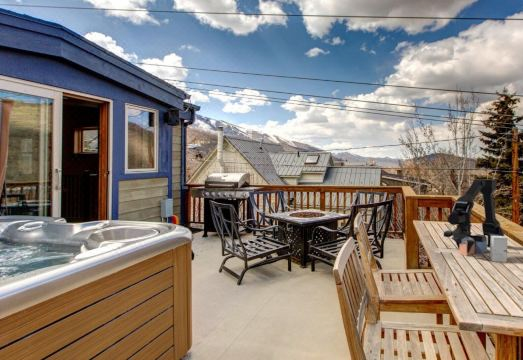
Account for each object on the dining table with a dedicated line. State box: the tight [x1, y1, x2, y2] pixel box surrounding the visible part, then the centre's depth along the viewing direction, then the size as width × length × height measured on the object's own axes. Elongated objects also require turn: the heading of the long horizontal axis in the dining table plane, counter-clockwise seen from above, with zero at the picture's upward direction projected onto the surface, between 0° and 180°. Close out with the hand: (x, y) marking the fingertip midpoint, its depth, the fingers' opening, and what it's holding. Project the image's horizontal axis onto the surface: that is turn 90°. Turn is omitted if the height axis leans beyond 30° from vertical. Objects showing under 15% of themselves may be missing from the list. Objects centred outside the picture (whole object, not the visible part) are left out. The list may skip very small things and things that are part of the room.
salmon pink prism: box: [458, 241, 477, 257], centre depth 174 cm, size 13×4×6 cm, turn 126°
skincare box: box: [489, 235, 508, 263], centre depth 160 cm, size 6×4×12 cm
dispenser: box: [462, 237, 488, 255], centre depth 178 cm, size 7×10×8 cm
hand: (464, 252), depth 171 cm, fingers closed on salmon pink prism, 3 cm apart
